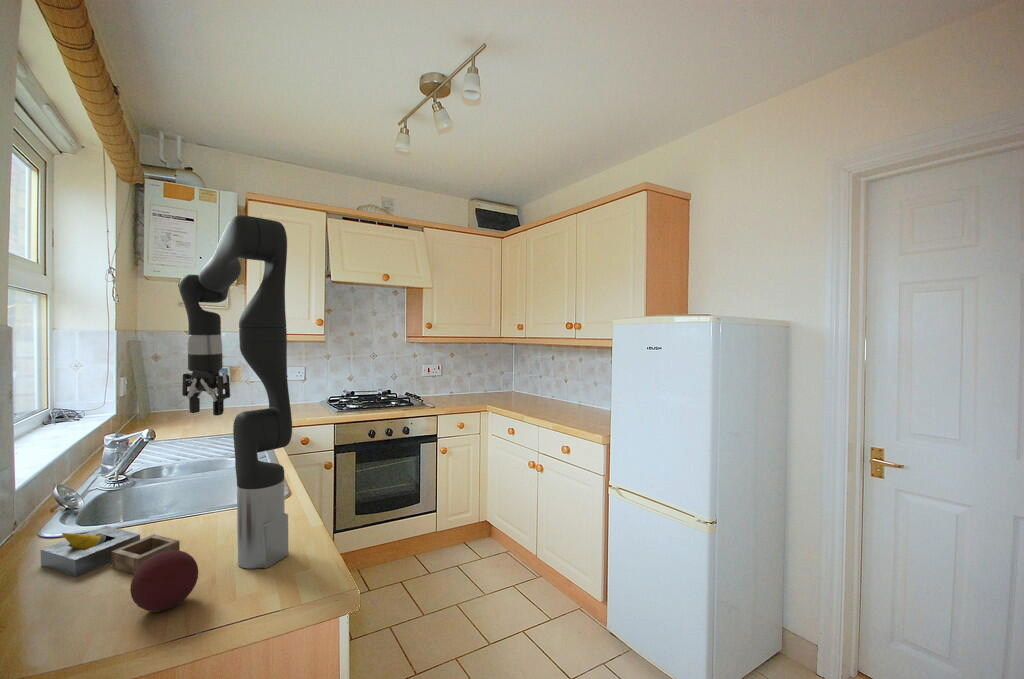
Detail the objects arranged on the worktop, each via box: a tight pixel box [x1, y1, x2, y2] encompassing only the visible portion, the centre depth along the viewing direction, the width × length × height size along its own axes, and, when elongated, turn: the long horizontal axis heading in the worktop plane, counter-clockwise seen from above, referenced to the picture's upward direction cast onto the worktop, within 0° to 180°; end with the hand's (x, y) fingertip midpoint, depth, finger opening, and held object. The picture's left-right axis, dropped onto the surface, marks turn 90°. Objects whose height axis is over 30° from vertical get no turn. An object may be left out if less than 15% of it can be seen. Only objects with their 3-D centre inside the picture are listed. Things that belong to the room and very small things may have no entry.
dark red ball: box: [129, 549, 199, 612], centre depth 84 cm, size 10×10×10 cm
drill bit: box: [61, 532, 106, 550], centre depth 100 cm, size 5×5×10 cm
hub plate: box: [40, 525, 141, 578], centre depth 101 cm, size 12×12×4 cm
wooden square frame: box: [111, 533, 181, 575], centre depth 100 cm, size 8×8×4 cm
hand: (206, 413), depth 120 cm, fingers open, 8 cm apart
